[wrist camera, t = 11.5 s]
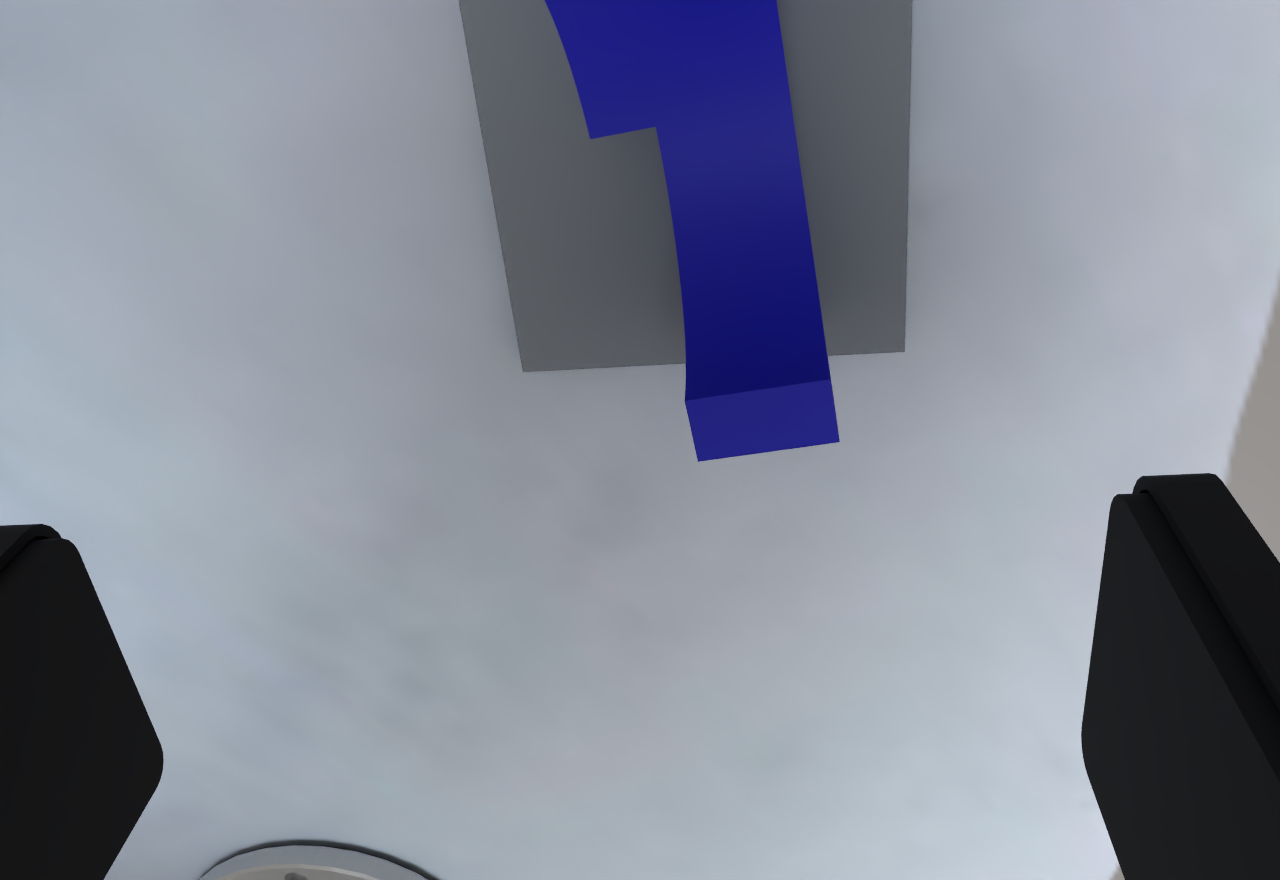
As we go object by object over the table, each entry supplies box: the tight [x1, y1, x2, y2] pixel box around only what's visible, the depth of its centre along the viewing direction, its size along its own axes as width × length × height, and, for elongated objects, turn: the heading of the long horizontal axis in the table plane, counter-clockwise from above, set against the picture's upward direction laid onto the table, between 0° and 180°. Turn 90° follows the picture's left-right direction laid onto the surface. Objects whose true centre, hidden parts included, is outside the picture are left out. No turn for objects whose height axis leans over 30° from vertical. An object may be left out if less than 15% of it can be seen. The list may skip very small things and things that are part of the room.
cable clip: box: [545, 0, 840, 461], centre depth 23 cm, size 12×4×6 cm, turn 12°
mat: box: [459, 0, 912, 372], centre depth 26 cm, size 14×10×1 cm
